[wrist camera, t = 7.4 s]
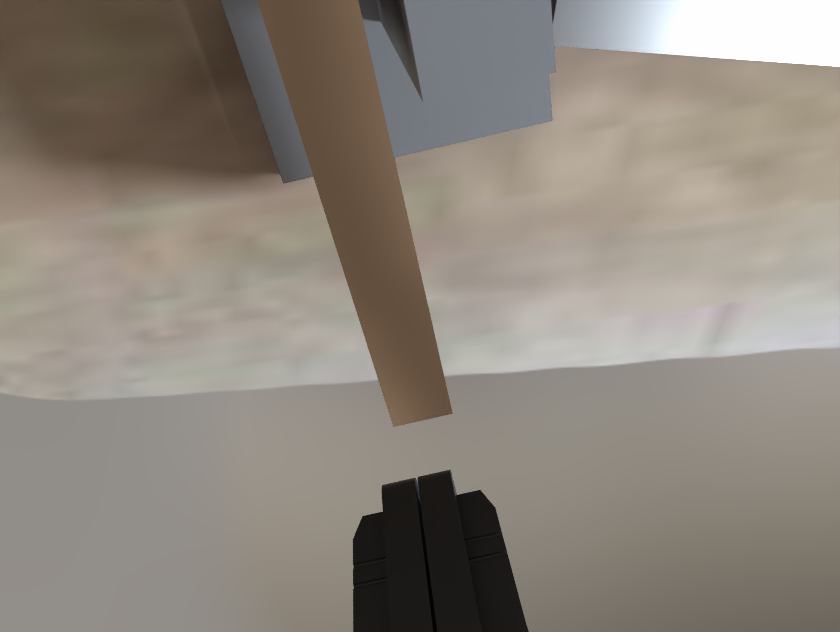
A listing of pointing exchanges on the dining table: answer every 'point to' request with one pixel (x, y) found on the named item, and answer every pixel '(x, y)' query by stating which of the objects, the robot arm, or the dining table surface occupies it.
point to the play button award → (705, 28)
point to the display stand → (421, 71)
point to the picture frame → (360, 193)
